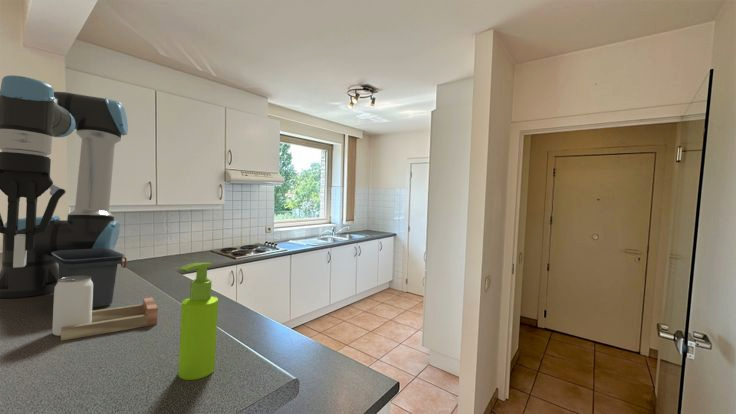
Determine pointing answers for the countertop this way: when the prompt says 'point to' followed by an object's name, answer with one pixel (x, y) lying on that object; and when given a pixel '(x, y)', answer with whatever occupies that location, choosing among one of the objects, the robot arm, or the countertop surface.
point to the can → (72, 302)
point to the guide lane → (114, 320)
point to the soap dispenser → (198, 326)
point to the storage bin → (92, 269)
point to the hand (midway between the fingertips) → (19, 266)
